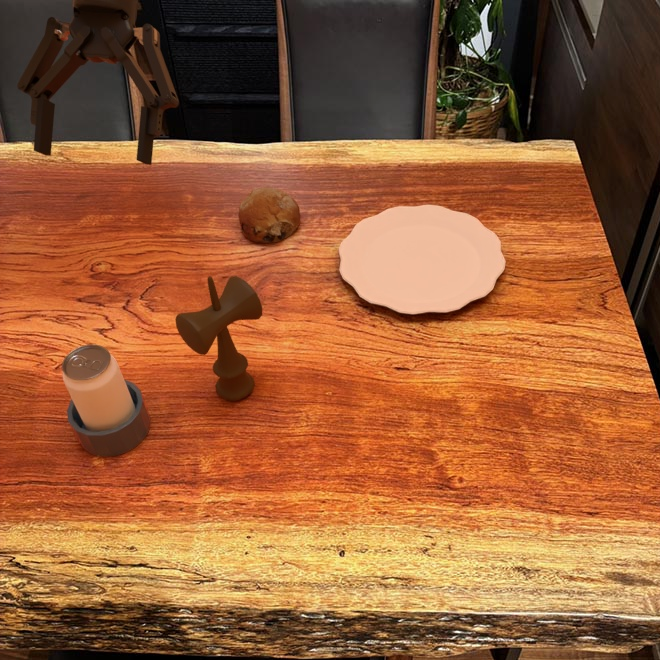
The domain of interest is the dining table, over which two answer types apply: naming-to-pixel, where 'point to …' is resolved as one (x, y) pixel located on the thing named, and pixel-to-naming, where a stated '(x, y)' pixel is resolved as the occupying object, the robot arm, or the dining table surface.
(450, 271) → the plate
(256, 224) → the bread roll
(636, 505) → the dining table surface
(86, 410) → the can
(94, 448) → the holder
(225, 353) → the kendama
